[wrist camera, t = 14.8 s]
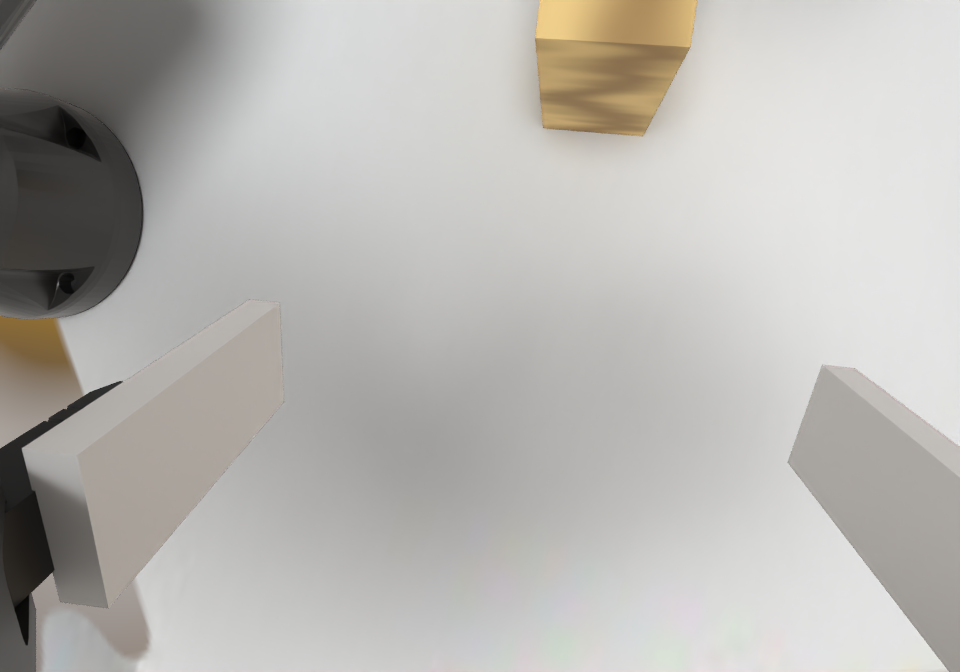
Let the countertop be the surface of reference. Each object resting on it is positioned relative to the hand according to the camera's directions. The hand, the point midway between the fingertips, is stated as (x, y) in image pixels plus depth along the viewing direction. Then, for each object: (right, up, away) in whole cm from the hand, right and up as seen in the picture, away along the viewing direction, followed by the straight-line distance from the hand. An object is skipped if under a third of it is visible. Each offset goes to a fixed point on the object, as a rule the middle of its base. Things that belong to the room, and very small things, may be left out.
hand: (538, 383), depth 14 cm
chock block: (+6, +18, +20) cm, 27 cm away
